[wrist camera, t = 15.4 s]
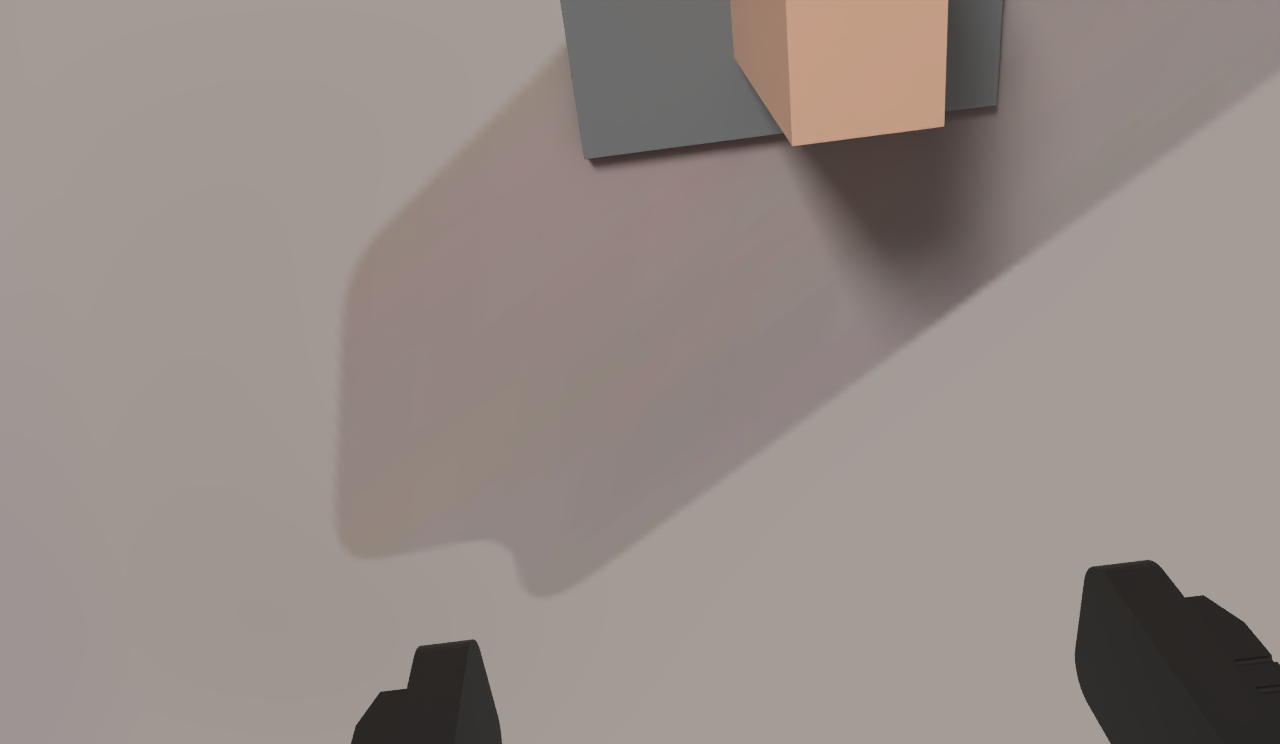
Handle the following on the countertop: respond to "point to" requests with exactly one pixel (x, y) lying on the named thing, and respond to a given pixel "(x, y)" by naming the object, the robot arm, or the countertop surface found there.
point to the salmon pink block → (844, 64)
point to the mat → (715, 72)
